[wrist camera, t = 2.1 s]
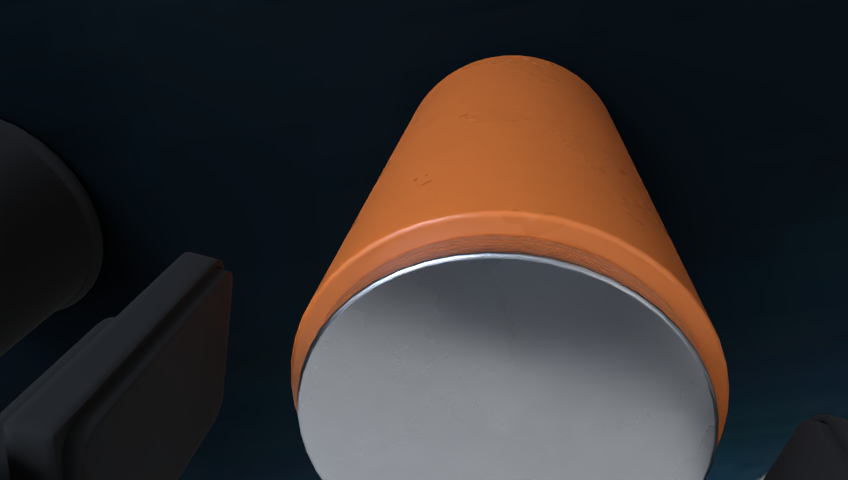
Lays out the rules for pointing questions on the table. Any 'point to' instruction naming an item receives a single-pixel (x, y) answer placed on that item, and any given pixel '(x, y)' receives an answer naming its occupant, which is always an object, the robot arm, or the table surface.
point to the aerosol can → (41, 235)
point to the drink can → (509, 304)
